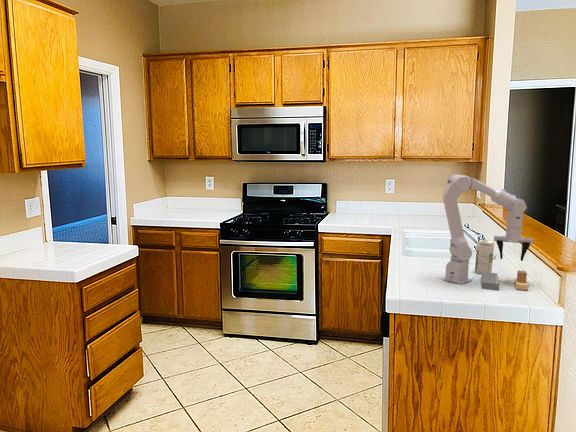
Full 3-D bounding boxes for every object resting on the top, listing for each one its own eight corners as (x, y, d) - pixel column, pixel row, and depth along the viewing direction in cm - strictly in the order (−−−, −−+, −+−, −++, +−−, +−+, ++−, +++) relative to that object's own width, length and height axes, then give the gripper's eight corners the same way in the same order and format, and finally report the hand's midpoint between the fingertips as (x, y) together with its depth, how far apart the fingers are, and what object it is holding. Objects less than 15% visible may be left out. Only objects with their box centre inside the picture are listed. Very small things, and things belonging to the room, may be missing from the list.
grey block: (481, 288, 185) (482, 282, 184) (481, 277, 201) (481, 271, 201) (498, 290, 182) (499, 283, 182) (496, 279, 199) (497, 273, 199)
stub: (516, 289, 184) (517, 274, 183) (514, 282, 193) (515, 268, 192) (527, 290, 182) (529, 275, 181) (525, 283, 191) (526, 269, 191)
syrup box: (478, 270, 214) (480, 239, 212) (492, 273, 210) (494, 241, 208) (474, 273, 209) (476, 241, 207) (488, 275, 206) (490, 242, 204)
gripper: (495, 227, 192) (492, 259, 194) (534, 229, 187) (532, 263, 188) (494, 224, 198) (492, 256, 200) (532, 227, 193) (530, 259, 195)
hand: (511, 259), depth 195 cm, fingers open, 7 cm apart
